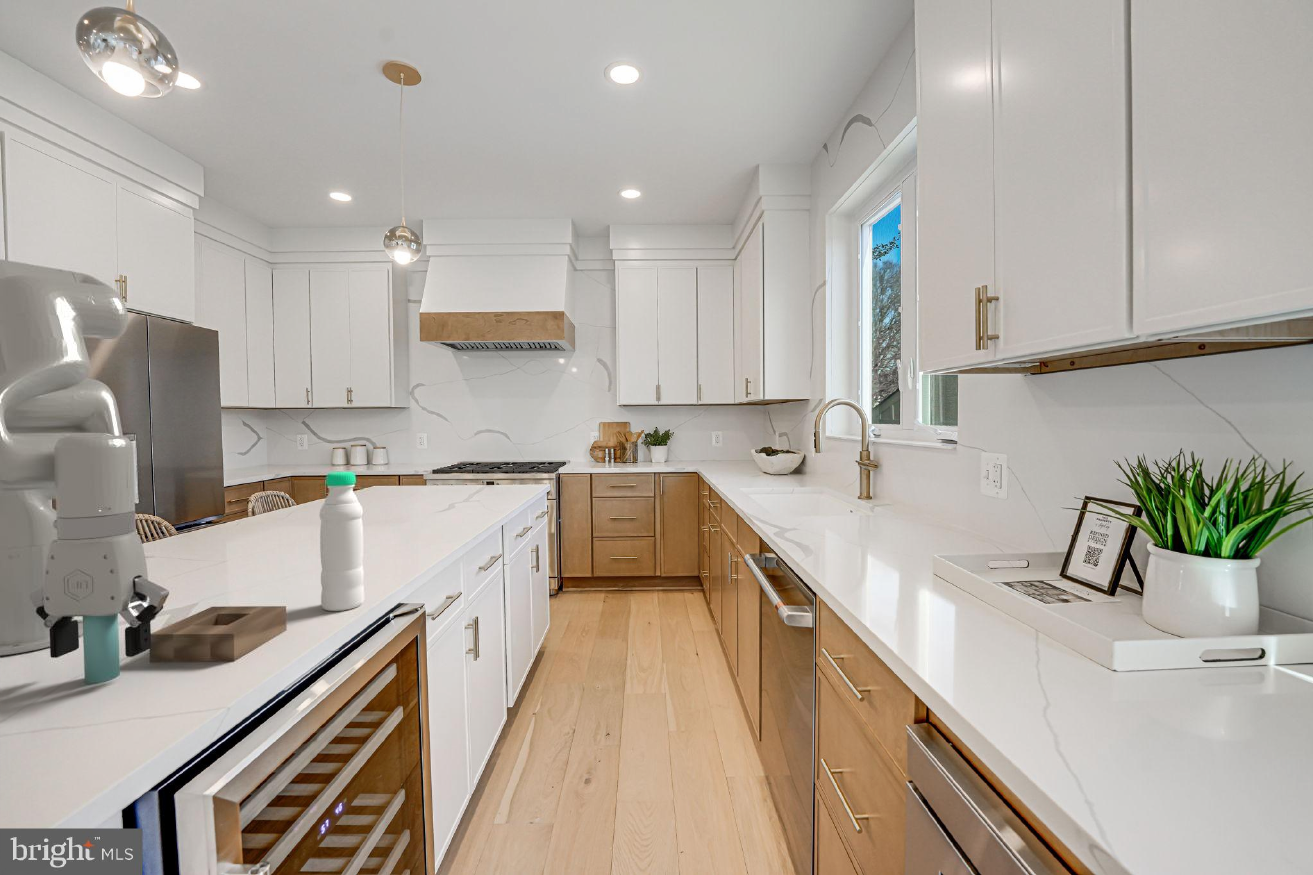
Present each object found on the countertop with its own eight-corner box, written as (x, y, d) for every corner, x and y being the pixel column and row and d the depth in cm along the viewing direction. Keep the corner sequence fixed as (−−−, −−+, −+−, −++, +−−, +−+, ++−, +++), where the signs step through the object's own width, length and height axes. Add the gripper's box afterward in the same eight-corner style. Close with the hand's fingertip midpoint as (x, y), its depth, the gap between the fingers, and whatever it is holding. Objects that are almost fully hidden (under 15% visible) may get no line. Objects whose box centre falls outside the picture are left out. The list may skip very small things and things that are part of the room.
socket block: (149, 661, 82) (149, 634, 82) (212, 630, 94) (212, 606, 94) (234, 661, 82) (233, 633, 82) (286, 629, 94) (286, 606, 94)
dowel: (77, 683, 75) (74, 601, 75) (101, 672, 78) (99, 593, 78) (103, 683, 75) (100, 601, 75) (126, 672, 78) (124, 593, 78)
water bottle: (345, 613, 102) (343, 475, 101) (311, 610, 103) (309, 474, 102) (372, 601, 109) (370, 471, 108) (340, 598, 110) (338, 470, 109)
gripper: (-1, 533, 72) (4, 666, 73) (138, 532, 72) (142, 664, 73) (60, 522, 80) (64, 642, 80) (185, 521, 80) (189, 641, 81)
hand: (101, 653), depth 77 cm, fingers open, 9 cm apart
